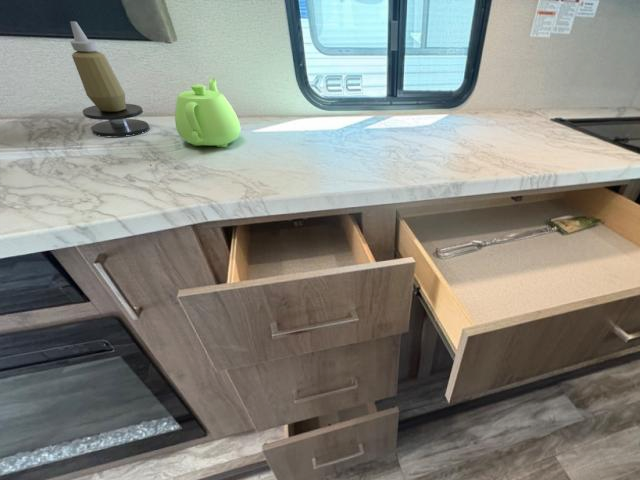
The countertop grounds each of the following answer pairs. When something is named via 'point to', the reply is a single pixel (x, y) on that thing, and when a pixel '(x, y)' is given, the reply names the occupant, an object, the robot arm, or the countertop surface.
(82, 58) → the squeeze bottle
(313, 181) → the countertop surface
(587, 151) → the countertop surface
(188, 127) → the teapot
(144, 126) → the stand
